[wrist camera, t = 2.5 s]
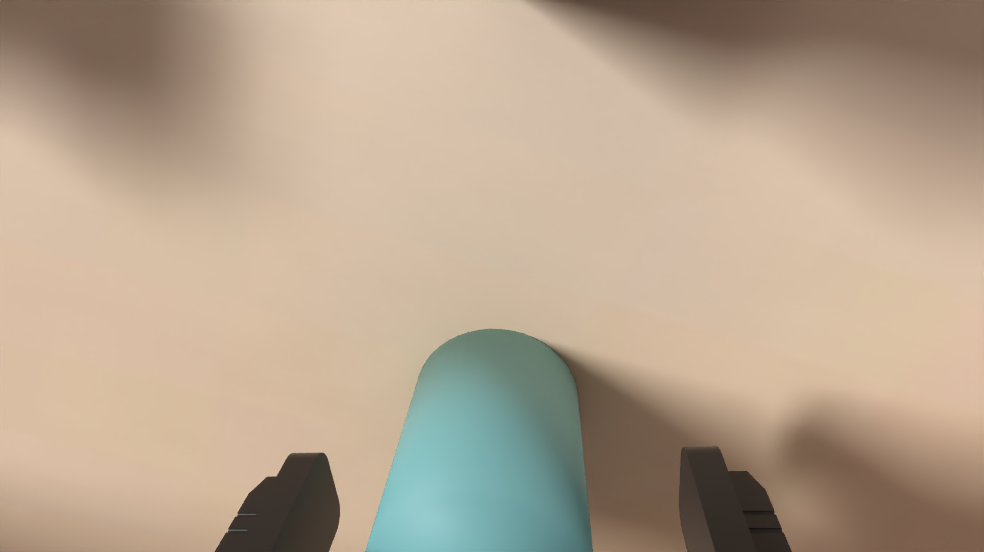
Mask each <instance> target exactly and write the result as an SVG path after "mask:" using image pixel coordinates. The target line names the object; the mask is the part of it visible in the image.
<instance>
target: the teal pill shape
mask: <svg viewBox="0 0 984 552" xmlns="http://www.w3.org/2000/svg"><path fill="white" fill-rule="evenodd" d="M365 552H593V548H592V538H591V527H590V517H589V507H588V496H587V486H586V476H585V465H584V455H583V445H582V434H581V424H580V413H579V403H578V393H577V387H576V383H575V379H574V377H573V375H572V373H571V371H570V369H569V367H568V366H567V364H566V363H565V362H564V360H563V359H562V358H561V357H560V356H559V355H558V354H557V353H556V352H555V351H554V350H553V349H552V348H550V347H549V346H547V345H546V344H544V343H543V342H541V341H539V340H537V339H535V338H533V337H531V336H528V335H525V334H523V333H519V332H515V331H510V330H502V329H486V330H477V331H472V332H468V333H465V334H462V335H459V336H457V337H455V338H453V339H451V340H449V341H447V342H446V343H444V344H443V345H441V346H440V347H439V348H438V349H437V350H436V351H434V352H433V353H432V355H431V356H430V357H429V358H428V359H427V361H426V363H425V364H424V366H423V367H422V370H421V372H420V375H419V378H418V381H417V384H416V387H415V391H414V394H413V397H412V400H411V404H410V407H409V410H408V414H407V417H406V420H405V423H404V427H403V430H402V433H401V436H400V440H399V443H398V446H397V450H396V453H395V456H394V459H393V463H392V466H391V469H390V472H389V476H388V479H387V482H386V485H385V489H384V492H383V495H382V499H381V502H380V505H379V508H378V512H377V515H376V518H375V521H374V525H373V528H372V531H371V534H370V538H369V541H368V544H367V548H366V551H365Z"/></svg>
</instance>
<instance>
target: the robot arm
mask: <svg viewBox="0 0 984 552" xmlns="http://www.w3.org/2000/svg"><path fill="white" fill-rule="evenodd" d="M679 510H680V520H681V526H682V531H683V535H684V539H685V543H686V548H687V552H792V551H791V549H790V547H789V544H788V542H787V540H786V537H785V535H784V533H782V528H781V526H780V523H779V521H778V519H777V516H776V515H775V514H774V509H773V507H772V504H771V502H770V500H769V497H768V495H767V493H766V490H765V489H764V488H763V487H762V486H761V485H760V484H759V483H758V482H757V481H756V480H755V479H754V478H753V477H752V476H751V475H750V474H749V473H748V472H747V471H728V470H727V467H726V464H725V462H724V459H723V456H722V453H721V451H720V449H719V448H718V447H683V448H682V450H681V466H680V489H679ZM339 518H340V505H339V499H338V496H337V492H336V488H335V484H334V481H333V477H332V473H331V469H330V466H329V462H328V459H327V456H326V455H325V454H324V453H292V454H290V455H289V456H288V457H287V459H286V460H285V462H284V464H283V466H282V468H281V470H280V471H279V473H278V475H277V477H266V478H265V479H264V480H263V481H262V482H261V483H260V484H259V485H258V486H257V487H256V488H254V489H253V490H252V491H251V492H250V493H249V494H248V496H247V498H246V499H245V501H244V503H243V504H242V506H241V508H240V510H239V511H238V516H237V517H235V518H234V520H233V522H232V523H231V525H230V527H229V528H228V529H229V531H228V533H226V534H225V535H224V537H223V539H222V540H221V542H220V544H219V546H218V547H217V549H216V551H215V552H329V550H330V547H331V545H332V542H333V539H334V537H335V534H336V531H337V528H338V524H339Z"/></svg>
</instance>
